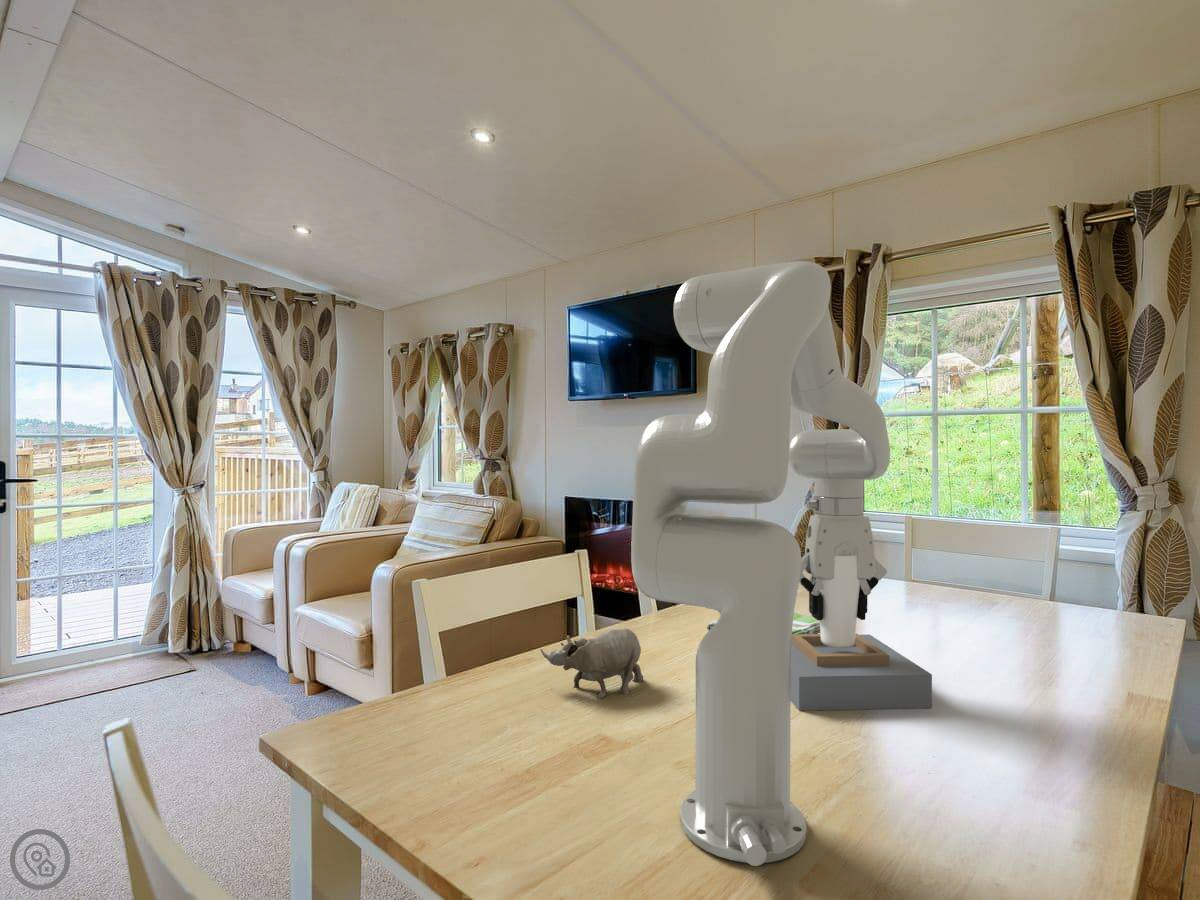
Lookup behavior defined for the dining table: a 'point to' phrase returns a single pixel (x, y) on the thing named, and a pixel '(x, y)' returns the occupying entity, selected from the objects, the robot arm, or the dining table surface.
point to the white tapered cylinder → (840, 604)
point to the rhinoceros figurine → (601, 658)
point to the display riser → (855, 676)
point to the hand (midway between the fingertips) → (838, 617)
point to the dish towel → (796, 625)
